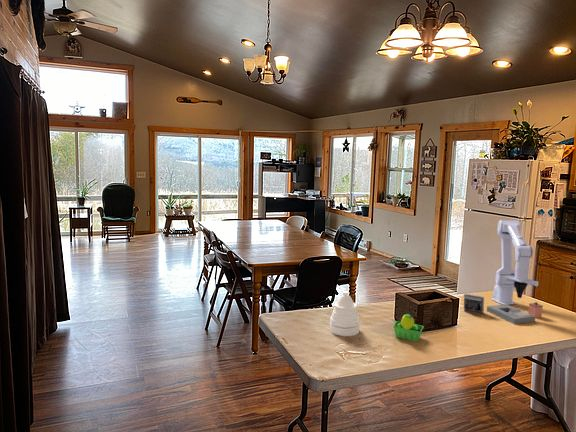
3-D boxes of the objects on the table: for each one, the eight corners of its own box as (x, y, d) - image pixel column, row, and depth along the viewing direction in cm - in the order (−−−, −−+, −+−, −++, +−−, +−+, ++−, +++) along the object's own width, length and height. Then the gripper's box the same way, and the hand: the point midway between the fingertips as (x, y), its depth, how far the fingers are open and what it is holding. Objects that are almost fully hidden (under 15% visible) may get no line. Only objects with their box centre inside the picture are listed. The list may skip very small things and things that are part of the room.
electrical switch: (483, 312, 218) (484, 295, 216) (482, 316, 214) (483, 298, 212) (464, 308, 223) (464, 291, 221) (461, 312, 219) (462, 295, 217)
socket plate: (486, 310, 221) (487, 306, 220) (506, 309, 224) (506, 304, 223) (513, 324, 203) (514, 318, 203) (534, 321, 207) (535, 316, 206)
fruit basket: (423, 337, 187) (425, 311, 186) (418, 344, 179) (419, 318, 178) (397, 331, 193) (398, 306, 191) (391, 338, 185) (392, 312, 184)
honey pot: (358, 337, 186) (360, 296, 183) (328, 334, 188) (329, 294, 186) (359, 326, 198) (361, 287, 196) (331, 323, 201) (332, 285, 198)
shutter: (508, 313, 210) (509, 309, 210) (519, 312, 212) (520, 307, 212) (519, 318, 204) (519, 313, 204) (530, 317, 206) (530, 312, 205)
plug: (528, 315, 215) (529, 301, 214) (534, 314, 217) (536, 300, 216) (534, 318, 212) (536, 304, 211) (541, 317, 213) (542, 303, 212)
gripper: (503, 268, 213) (501, 295, 215) (536, 274, 204) (533, 302, 205) (507, 266, 218) (505, 292, 220) (540, 271, 209) (537, 299, 211)
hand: (519, 297), depth 213 cm, fingers closed
